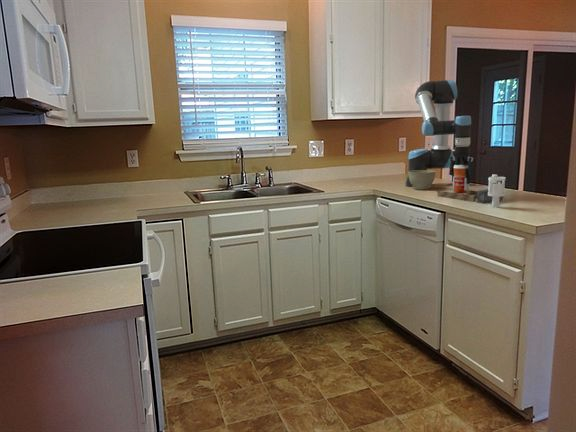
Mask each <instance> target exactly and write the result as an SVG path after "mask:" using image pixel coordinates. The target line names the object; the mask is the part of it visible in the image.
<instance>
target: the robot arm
mask: <svg viewBox="0 0 576 432" xmlns="http://www.w3.org/2000/svg"><path fill="white" fill-rule="evenodd" d="M414 99H415V102H416V104H417V105H418V106H419V109H420V113H421V116H422V119H423V122H422V125H421V133H422V135H423V136H433V145H432V146H431V147H430V150H429V149H428V148H418V149H413V150H411V151H409V152H408V158H407V159H408V167H407V168H408V171H413V170H431V169H432V170H436V169H437V170H438V169H448V168H449V171H448V172H449V173H448V174H449V176H451V177H452V178H451V181H452V189H453V190H454V168H453V167H454V165H461V164H462V165H463V166H465V175H466V177H465V185H464V190H470V184H471V178H472V177H473V178H474V177H475V168H474V160H475V158H474V157H470V152H471V146H470V145H471V134H472V133H471V132H472V130H471V129H472V127H471V126H472V117H471V115H460V116H458V115H457V116H455V119H453V120H450V119H451V106H452V105H454V101H455V100H457V99H458V87H457V83H456V82H455V81H454V80H450V79H448V80H447V79H445V80H429V81H426V82H423V83H422V84H420V85H419V86H418V87H417V89H416V92H415V95H414ZM449 135H450V136H451V135H454V145H455V146H454V152H453V150H452V149H451V146H450V145H449V138H450V137H449ZM454 154H455V155H454ZM466 165H468V168H466ZM408 171H407V172H408ZM405 186H406V187H411V188H413V186H412V184H411V183H410V180H409V174H407V177H406V181H405Z"/></svg>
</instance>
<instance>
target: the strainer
mask: <svg viewBox="0 0 576 432" xmlns="http://www.w3.org/2000/svg"><path fill="white" fill-rule="evenodd" d="M505 184H506V177H505V176H498V174H492V175H491V176H489V177H488V188H487V189H488V196H492V202H491V208H494V207H498V208H500V201H499V198H500V196H503V197H504V196H505Z"/></svg>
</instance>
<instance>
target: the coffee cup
mask: <svg viewBox="0 0 576 432" xmlns="http://www.w3.org/2000/svg"><path fill="white" fill-rule="evenodd" d="M453 168H454V189H453V191H454V190H455V193H460V194H462V193H467V190H464V185H465V177H466V175H465V166H463V165H462V164H461V165H454V167H453ZM466 168H468V165H466Z"/></svg>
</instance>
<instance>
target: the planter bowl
mask: <svg viewBox="0 0 576 432" xmlns="http://www.w3.org/2000/svg"><path fill="white" fill-rule="evenodd" d="M407 173H408V174H409V180H410V183H411V184H412V186H413V187H412V189H413V190H422V191H423V190H429V189H430V187H431V186H432V184H433V183H434V181H435V177H436V173H437V171H435V170H431V169H427V170H413V171H407ZM408 174H407V175H408Z"/></svg>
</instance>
